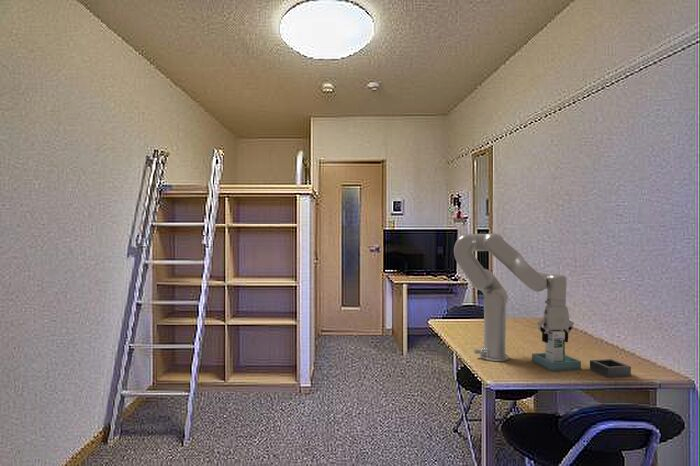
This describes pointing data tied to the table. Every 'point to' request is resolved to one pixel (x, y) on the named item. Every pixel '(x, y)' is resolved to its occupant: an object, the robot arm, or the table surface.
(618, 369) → the holder
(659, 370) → the table surface
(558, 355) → the syrup box
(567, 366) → the tray
